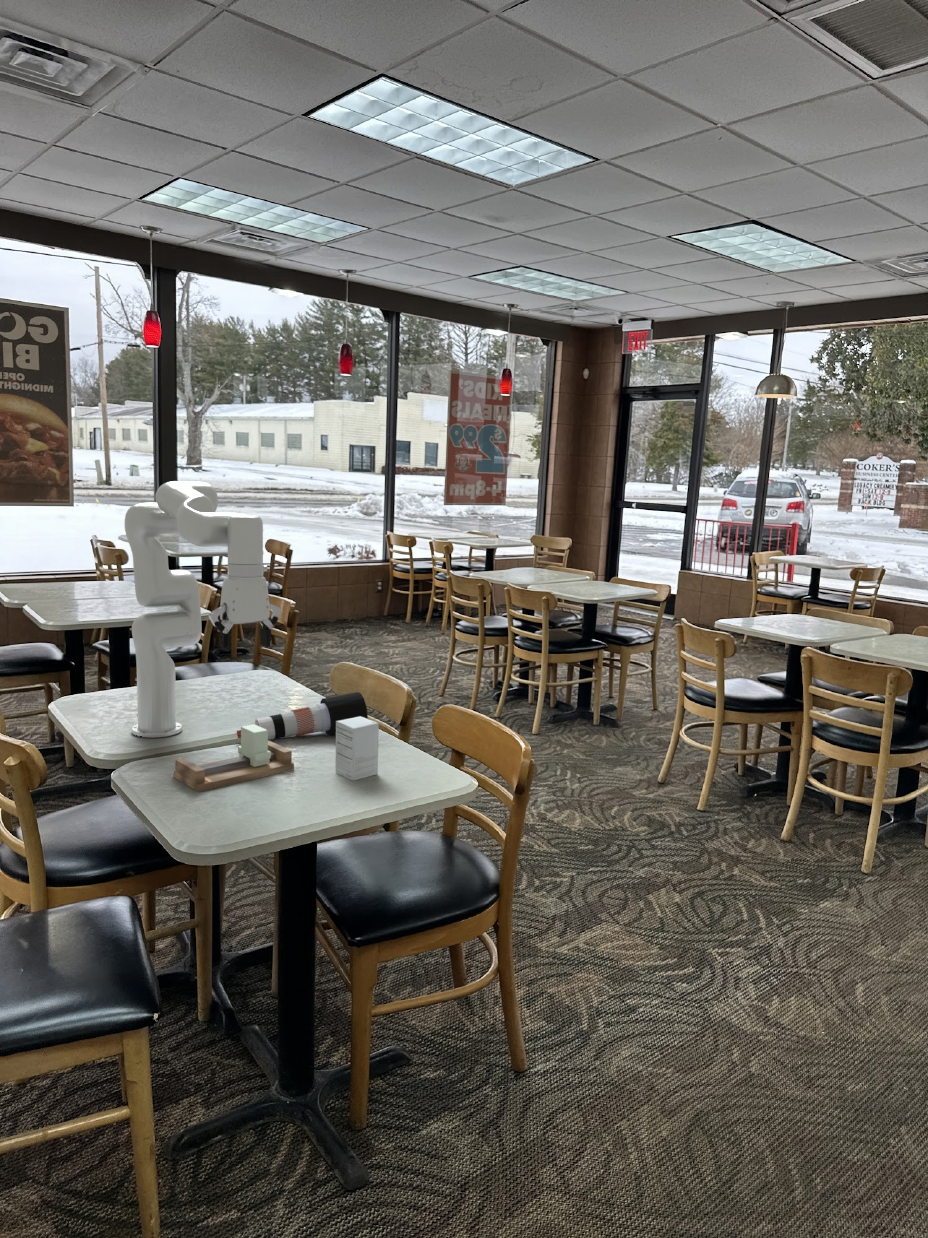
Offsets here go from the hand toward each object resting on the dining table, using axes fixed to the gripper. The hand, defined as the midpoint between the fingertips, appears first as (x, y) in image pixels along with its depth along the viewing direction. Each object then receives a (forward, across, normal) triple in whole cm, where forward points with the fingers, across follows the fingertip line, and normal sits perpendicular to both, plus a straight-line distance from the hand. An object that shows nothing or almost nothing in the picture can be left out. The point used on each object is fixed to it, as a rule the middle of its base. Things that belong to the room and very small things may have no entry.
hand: (246, 648), depth 191 cm
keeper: (+28, -4, -4) cm, 29 cm away
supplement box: (+30, -22, +12) cm, 39 cm away
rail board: (+30, +1, -4) cm, 30 cm away
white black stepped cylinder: (+30, -27, -20) cm, 45 cm away
